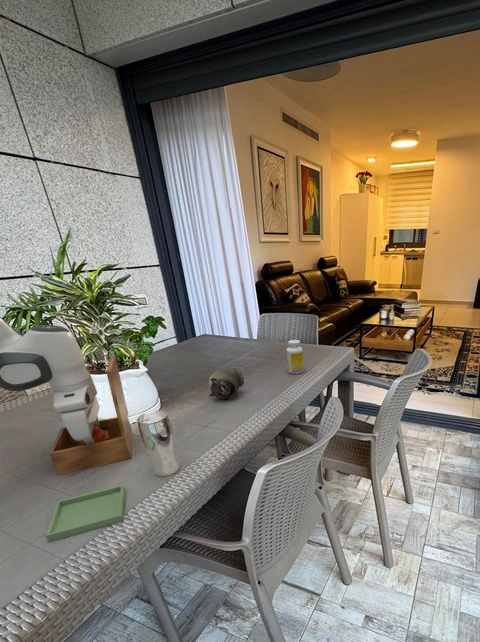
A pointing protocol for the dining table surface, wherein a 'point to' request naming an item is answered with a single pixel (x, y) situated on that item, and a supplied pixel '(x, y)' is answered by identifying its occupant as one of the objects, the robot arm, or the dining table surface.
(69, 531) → the tray
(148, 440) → the beer glass
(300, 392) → the dining table surface
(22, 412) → the dining table surface
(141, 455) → the dining table surface
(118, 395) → the box lid
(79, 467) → the warming box
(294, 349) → the supplement bottle
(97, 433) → the pomegranate
